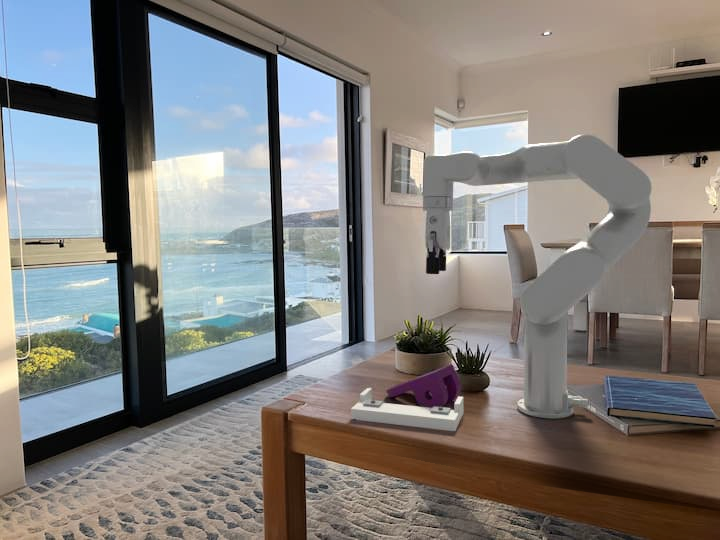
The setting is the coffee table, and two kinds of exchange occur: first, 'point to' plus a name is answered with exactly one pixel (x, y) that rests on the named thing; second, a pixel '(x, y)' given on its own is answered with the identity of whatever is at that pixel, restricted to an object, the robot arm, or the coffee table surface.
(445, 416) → the white bolted base plate
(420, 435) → the coffee table surface
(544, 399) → the robot arm
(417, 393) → the mounting bracket
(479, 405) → the coffee table surface
